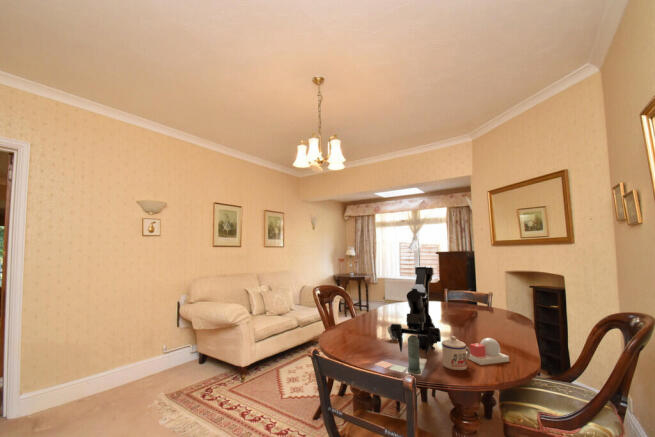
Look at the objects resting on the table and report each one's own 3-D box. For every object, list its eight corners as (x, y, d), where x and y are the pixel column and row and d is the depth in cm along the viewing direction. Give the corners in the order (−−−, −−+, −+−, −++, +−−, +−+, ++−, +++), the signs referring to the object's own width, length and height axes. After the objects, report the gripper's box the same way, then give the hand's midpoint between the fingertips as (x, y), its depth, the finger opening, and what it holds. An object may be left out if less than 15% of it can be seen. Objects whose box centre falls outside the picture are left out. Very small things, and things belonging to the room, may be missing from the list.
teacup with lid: (452, 373, 112) (451, 340, 114) (437, 364, 121) (436, 334, 122) (479, 369, 116) (477, 338, 117) (462, 361, 124) (461, 332, 125)
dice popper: (490, 353, 133) (489, 334, 134) (509, 361, 123) (507, 340, 124) (463, 356, 129) (462, 336, 130) (480, 365, 120) (479, 343, 121)
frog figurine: (390, 337, 159) (390, 323, 160) (403, 339, 155) (402, 325, 156) (385, 339, 155) (385, 325, 156) (397, 342, 150) (397, 327, 151)
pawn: (416, 368, 115) (415, 333, 117) (423, 373, 111) (422, 336, 112) (405, 369, 114) (404, 334, 115) (411, 374, 109) (410, 337, 111)
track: (422, 357, 128) (422, 356, 128) (448, 373, 112) (448, 372, 112) (371, 363, 122) (371, 361, 122) (391, 381, 106) (391, 379, 106)
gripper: (390, 303, 123) (384, 338, 112) (438, 306, 115) (437, 344, 104) (395, 319, 129) (390, 353, 118) (441, 323, 121) (440, 360, 110)
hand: (413, 352), depth 112 cm, fingers open, 9 cm apart
